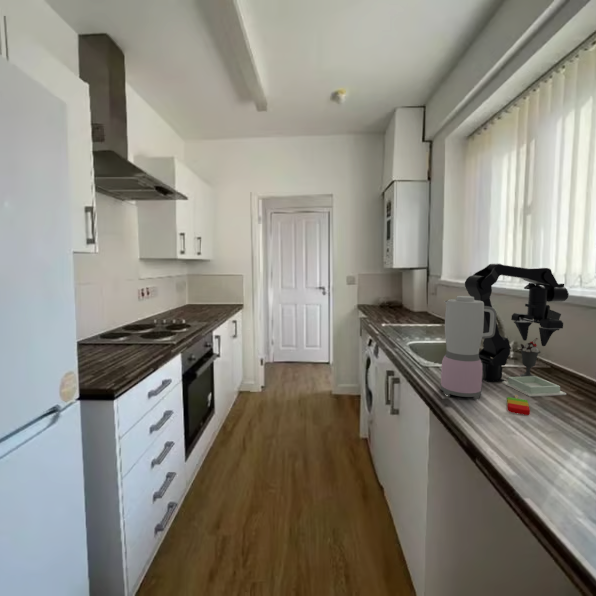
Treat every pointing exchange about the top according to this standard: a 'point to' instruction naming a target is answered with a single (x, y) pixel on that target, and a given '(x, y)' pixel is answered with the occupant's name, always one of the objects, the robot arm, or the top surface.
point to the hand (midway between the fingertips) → (533, 343)
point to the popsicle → (518, 405)
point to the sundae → (529, 356)
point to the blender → (464, 346)
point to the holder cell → (533, 386)
